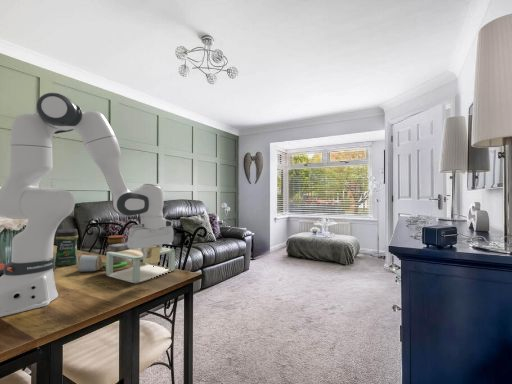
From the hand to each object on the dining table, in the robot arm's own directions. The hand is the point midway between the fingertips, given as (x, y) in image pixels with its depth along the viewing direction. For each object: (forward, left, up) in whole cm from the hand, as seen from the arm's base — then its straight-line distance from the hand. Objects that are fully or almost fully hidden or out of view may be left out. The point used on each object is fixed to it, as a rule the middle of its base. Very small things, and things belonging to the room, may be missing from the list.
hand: (151, 256), depth 111 cm
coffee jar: (-3, +63, -11) cm, 64 cm away
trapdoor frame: (+7, +16, -11) cm, 21 cm away
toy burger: (+9, +40, -11) cm, 43 cm away
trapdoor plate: (+7, +20, -4) cm, 21 cm away
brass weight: (0, 0, -2) cm, 2 cm away
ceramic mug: (-2, +41, -11) cm, 43 cm away
